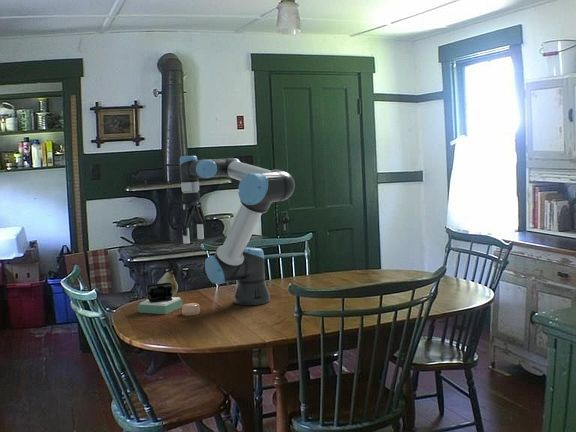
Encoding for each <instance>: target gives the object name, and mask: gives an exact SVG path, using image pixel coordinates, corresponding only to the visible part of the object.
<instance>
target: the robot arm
mask: <svg viewBox="0 0 576 432" xmlns="http://www.w3.org/2000/svg"><path fill="white" fill-rule="evenodd" d="M179 173H180V174H179V175H180V183H181V184H180V187H181V192H182V193H181V201H182V202H184V203H185V204H181V210H180V218H179V225H178V226H179V229H182V230H181V231H182V243H183V244H184V245H185V244H191V242H190V241H191V240H190V228H189V224H190V221H191V217H192V215H193V217H194V219H195V221H196V223H197V224H196V233H197V234H196V235H197V240H204V239H205V236H204V225H205V224H206V218H205V214H204V210H203V207H202V202H201V200H200V199H201V198H200V197H201V196H200V194H201V193H200V192H199V191H200V181H199V179H210V178H219V177H220V178H221V177H228V178H231V179H234V180H237V181H240V182H239V183H238V190H239V191H238V192H237V194H238V198H239V201H240V203H241V204H240V206H239V209H238V212H237V213H236V216H235V218H234V221H233V223H232V224H231V227H230V229H229V231H228V233H227V236H226V238H225V240H224V242H223V245H220V246H218V248H217V249H216V251H215V253H214V255H210V256H207V258H206V259H205V262H204V268H205V273H206V276H207V278H208V279H209V281H210V282H211V283H212V284H216V285H220V284H221V285H222V284H223V285H224V284H225V283H231V282H236V281H237V287H236V290H235V294H234V298H233V300H234V304H236V305H239V306H258V305H265V304H267V303H270V301H271V295H270V291H269V289H268V286H267V284H266V273H265V272H266V270H265V269H266V268H265V267H266V266H265V259H266V258H265V254H264V250H263V249H262V248H259V247H248V244H249V241H250V239H251V237H252V235H253V234H254V230H255V229H256V227H257V224H258V223H259V221H260V218H261V216H262V214H265V213H267V212H268V211H269V208H270V207H271V204H272V203H275V202H283V201H286V200H288V199H289V198H291V196H293V193H294V192H295V187H296V183H295V180H294V178H293V176H292V175H291V174H290V173H289V172H287V171H283V170H280V169H272V170H269V169H267V168H263V167H259V166H256V165H253V164H249V163H245V162H241V161H240V159H239V158H235V157H229V158H215V159H209V158H207V159H198V157H197V156H196V155H185V156H184V155H183V156H182V155H181V156H180V157H179Z"/></svg>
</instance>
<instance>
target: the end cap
mask: <svg viewBox="0 0 576 432" xmlns="http://www.w3.org/2000/svg"><path fill="white" fill-rule="evenodd" d="M145 288H146V289H145V290H146V298H147V300H149V301H150V303H155V302H164V301H172V298H171V297H172V295H173V294H172V286H171V282H170V283H160V284H157V283H153V284H152V283H151V284H147V285H145Z"/></svg>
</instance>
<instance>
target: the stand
mask: <svg viewBox="0 0 576 432" xmlns="http://www.w3.org/2000/svg"><path fill="white" fill-rule="evenodd" d="M171 298H172V301H164V302H155V303H150V301H149V300H148V299H146V300H143V301H141V302H139V304H138V305H137V308H138V311H137V312H138V313H141V314H156V315H157V314H158V315H167V314H170V313H171V312H174V311H176V310H179V309H182V305H184V304H183V299H182V298H181V297H179V296H177V297H176V296H173V297H171Z"/></svg>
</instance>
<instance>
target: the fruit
mask: <svg viewBox="0 0 576 432" xmlns="http://www.w3.org/2000/svg"><path fill="white" fill-rule="evenodd" d="M173 272H174V270H170V271H167V272H166V273H164V274H163V276H162V277H161V278H160V279H158V281H157V283H156V284H160V283H170V282H171V286H172V294H173V295H172V297H176V294H177V292H178V291H179V286H178V285H179V284H178V282H177V280H176V278H175V275H174V273H173Z"/></svg>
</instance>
